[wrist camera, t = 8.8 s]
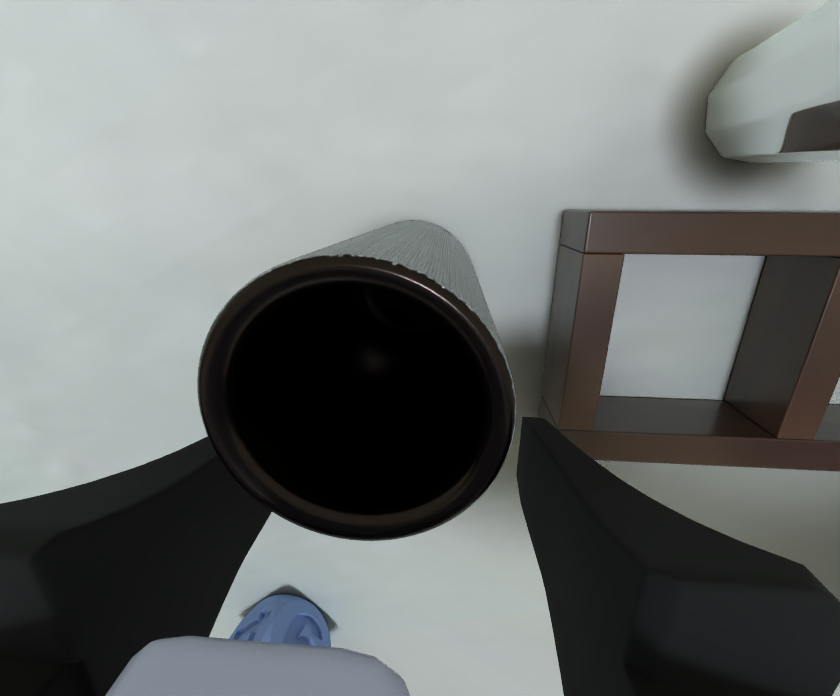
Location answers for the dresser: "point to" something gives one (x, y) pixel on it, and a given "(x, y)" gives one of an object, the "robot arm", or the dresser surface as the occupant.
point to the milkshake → (782, 95)
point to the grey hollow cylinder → (361, 386)
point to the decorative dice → (284, 622)
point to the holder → (757, 357)
